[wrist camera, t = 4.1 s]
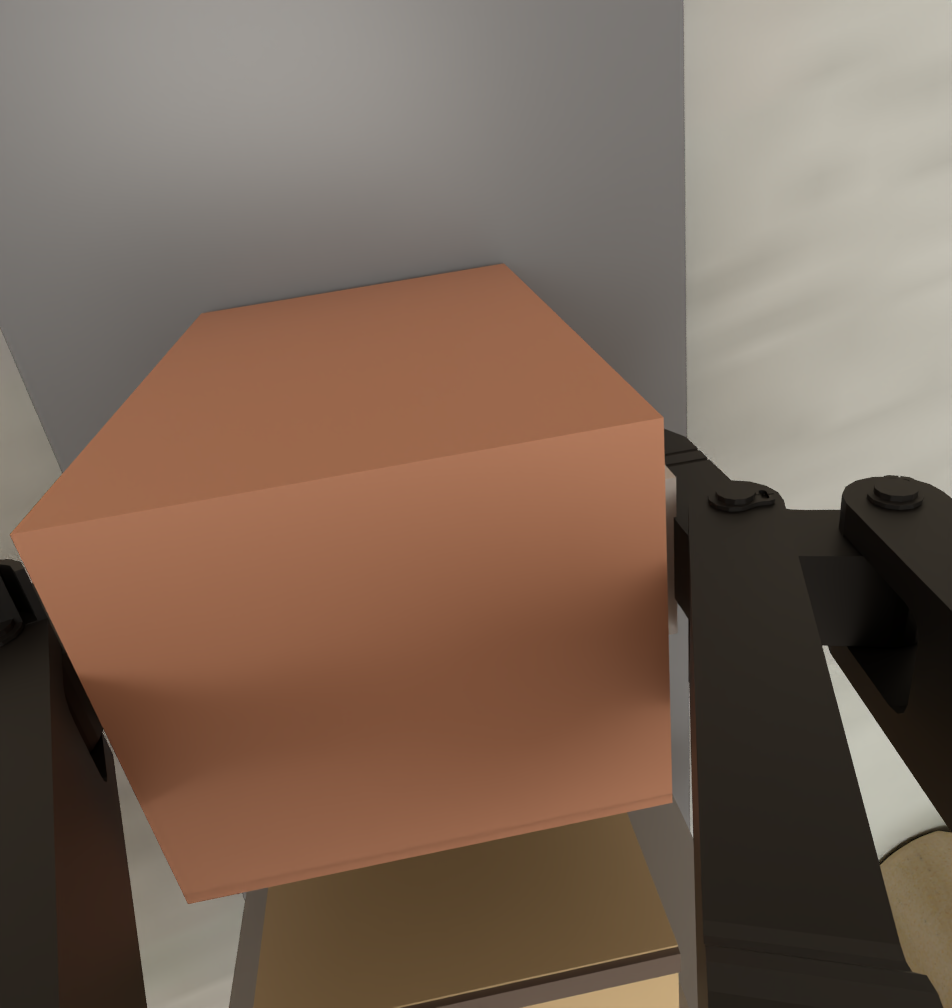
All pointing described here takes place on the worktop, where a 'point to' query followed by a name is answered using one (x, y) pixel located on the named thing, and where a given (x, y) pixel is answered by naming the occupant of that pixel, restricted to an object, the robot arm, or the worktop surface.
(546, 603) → the block
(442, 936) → the holder
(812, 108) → the worktop surface
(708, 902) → the robot arm
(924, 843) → the flower pot
